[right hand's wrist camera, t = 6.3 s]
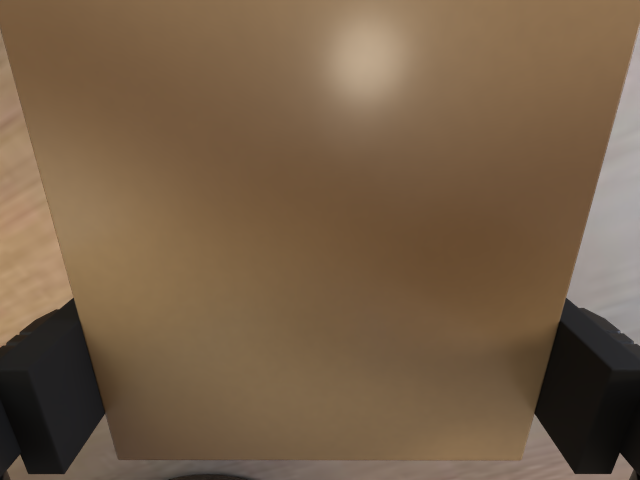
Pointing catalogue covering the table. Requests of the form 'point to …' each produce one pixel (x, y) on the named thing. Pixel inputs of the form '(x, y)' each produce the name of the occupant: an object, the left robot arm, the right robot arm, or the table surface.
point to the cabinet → (319, 211)
